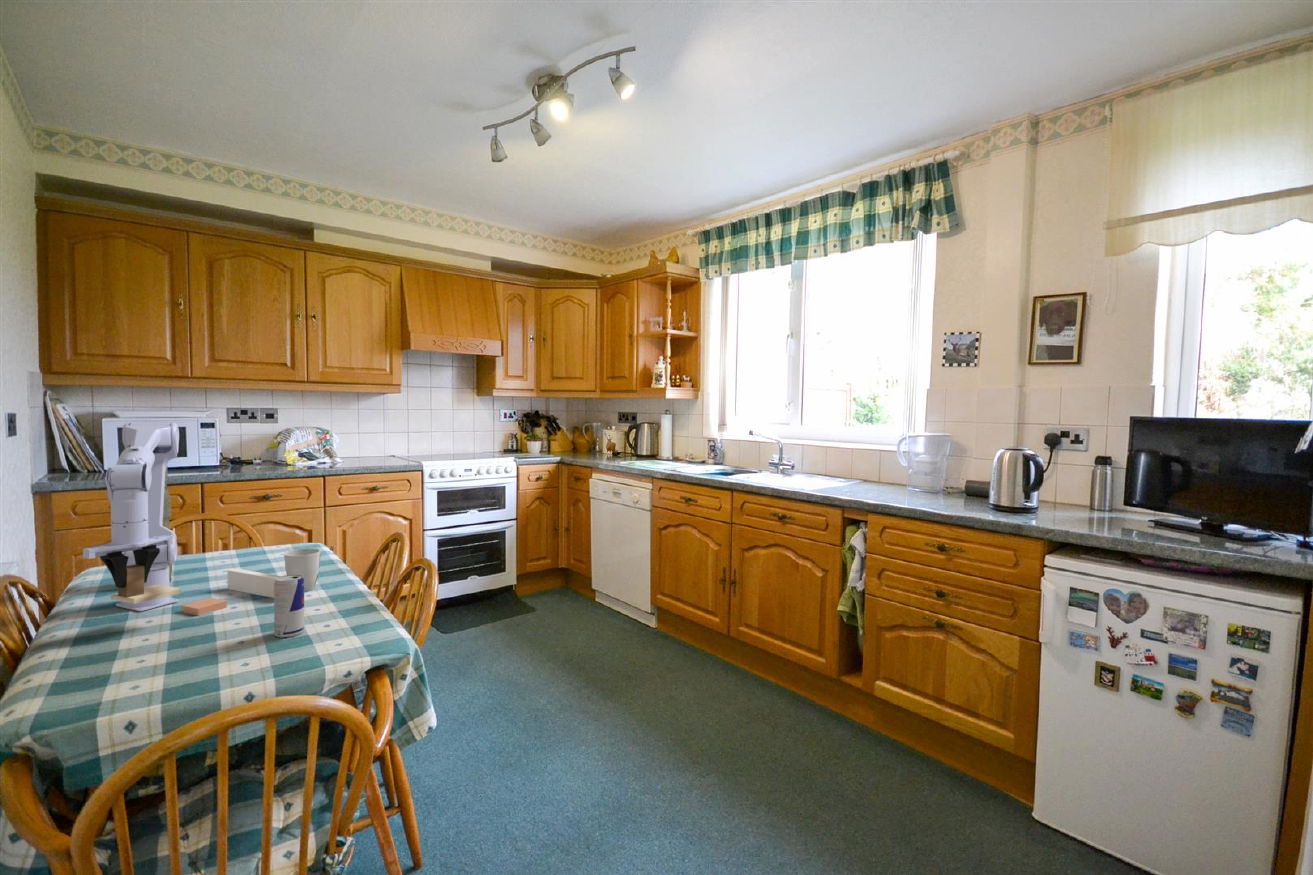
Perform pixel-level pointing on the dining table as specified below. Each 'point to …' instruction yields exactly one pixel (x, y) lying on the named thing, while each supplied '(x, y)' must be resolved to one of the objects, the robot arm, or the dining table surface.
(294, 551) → the cup
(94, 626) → the dining table surface
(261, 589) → the batten
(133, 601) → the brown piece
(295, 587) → the energy drink
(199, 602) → the tile
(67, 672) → the dining table surface
